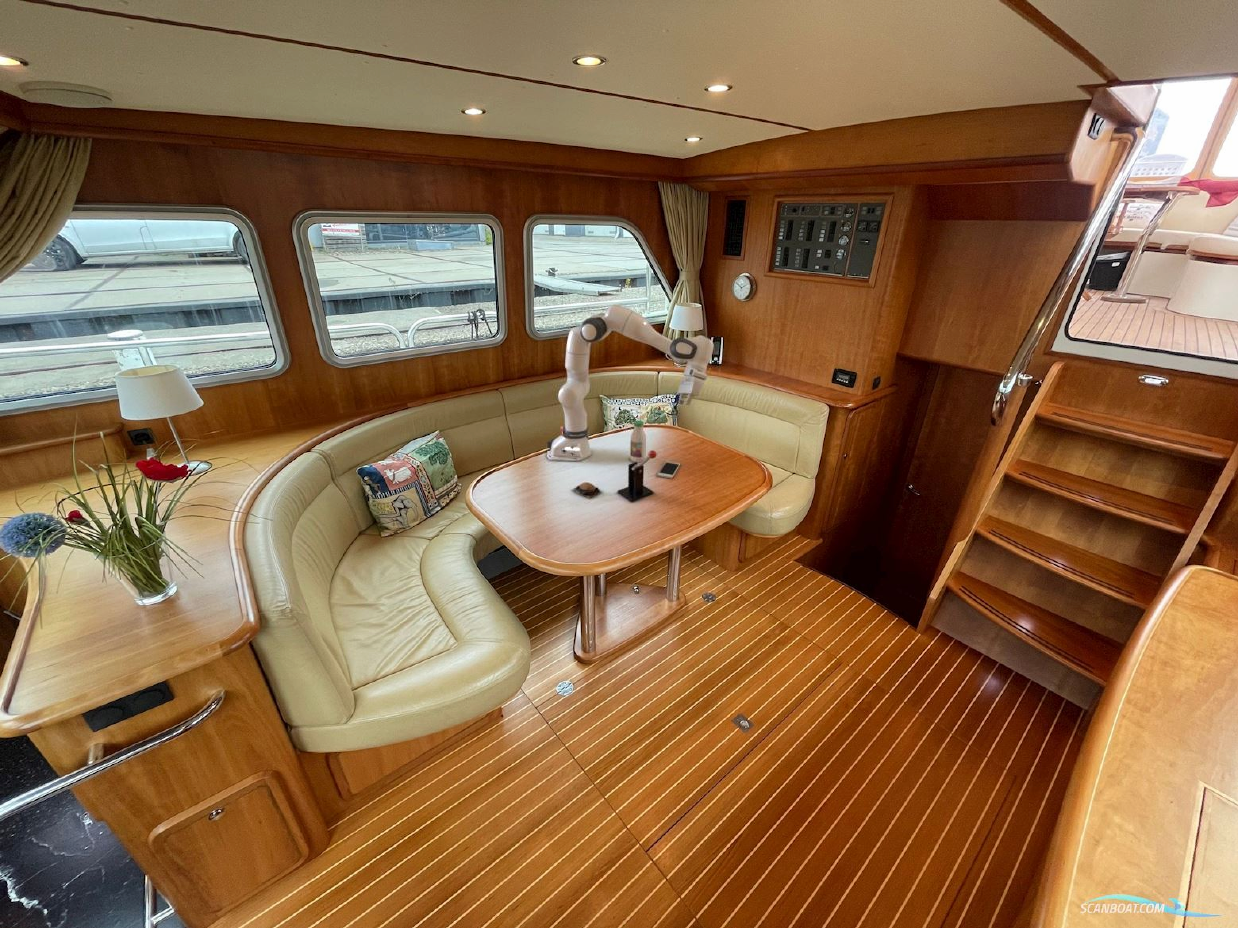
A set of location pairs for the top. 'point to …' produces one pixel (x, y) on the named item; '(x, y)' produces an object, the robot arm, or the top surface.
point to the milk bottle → (638, 443)
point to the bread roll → (587, 490)
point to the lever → (646, 459)
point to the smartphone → (668, 469)
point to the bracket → (635, 484)
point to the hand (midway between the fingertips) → (683, 404)
